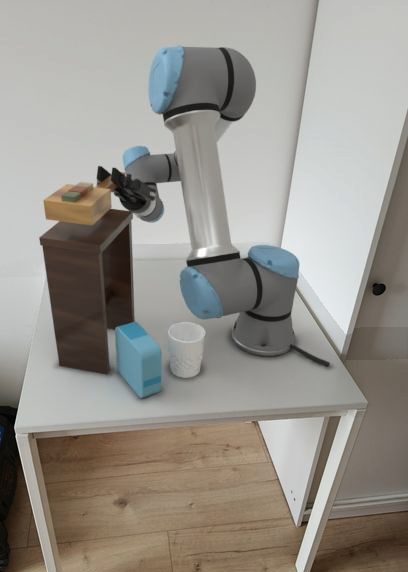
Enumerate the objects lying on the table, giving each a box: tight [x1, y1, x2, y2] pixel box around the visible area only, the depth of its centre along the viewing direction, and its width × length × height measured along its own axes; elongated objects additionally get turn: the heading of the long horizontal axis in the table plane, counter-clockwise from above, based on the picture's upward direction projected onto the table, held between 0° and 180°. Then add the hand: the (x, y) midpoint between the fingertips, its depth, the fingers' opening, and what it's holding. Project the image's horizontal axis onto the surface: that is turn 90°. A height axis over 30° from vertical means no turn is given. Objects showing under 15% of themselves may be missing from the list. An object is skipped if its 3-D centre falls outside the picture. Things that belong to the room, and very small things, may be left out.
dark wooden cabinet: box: [38, 208, 136, 375], centre depth 109 cm, size 19×12×30 cm, turn 168°
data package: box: [114, 321, 162, 399], centre depth 104 cm, size 12×4×12 cm, turn 34°
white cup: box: [167, 321, 206, 379], centre depth 109 cm, size 8×8×10 cm
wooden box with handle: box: [42, 171, 126, 225], centre depth 101 cm, size 28×9×5 cm, turn 168°
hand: (106, 173), depth 105 cm, fingers closed on wooden box with handle, 2 cm apart
